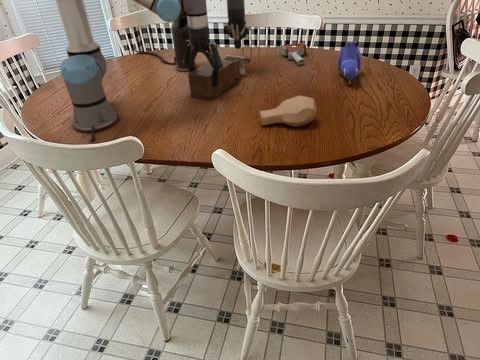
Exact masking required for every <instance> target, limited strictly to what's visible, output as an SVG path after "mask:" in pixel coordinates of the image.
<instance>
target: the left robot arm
mask: <svg viewBox="0 0 480 360" xmlns="http://www.w3.org/2000/svg"><path fill="white" fill-rule="evenodd" d="M132 1H133V2H135V3H136V4H138V5H140V6H142V7H143V8H145V9H147V10H148V11H150V12H152V13H153V14H155V15H157V16H158V18H159V19H160V20H162V21H163V22H166V23H173V21H175V20H176V19H177V18H178V17H179V15H180V11H186V12H187V20H188V26H189V27H190V28H189V35H190V38H191V40H190V39H188V40H186V41H185V42H184V43H185V54H184V65H187V66H188V68H189V71H188V73H190V72H191V71H193V70H195V69H196V68H195V66H194V61H195V62H196V58H197V56H198V53H201V54H203V56H205V57H206V59H207V61H208V62H210V64H211V66H212V68H213V71H212V76H213V86H214V87H216V86H217V85H219V82H218V78H219V70H220V69H221V68H223V65H222V62H221V59H222V58H221V56H220V53H219V50H218V42H216V41H214V42H211V41H210V28H209V18H208V7H207V0H132ZM55 2H56V6H57V9H58V12H59V15H60V18H61V19H60V20H61V22H62V26H63V28H64V32H65V35H66V39H67V42H68V45H67V47H66V48H65V51H66V53H67V58H65V59H63V61H62V60H61V63H60V65H59V69H60V75H61V77H62V79H63V82H64V84H65V87H66V90H67V93H68V96H69V99H70V101H71V104H72V108H73V114H72V117H73V118H72V119H73V125H74V128H75V129H76V131H78V132H84V133H91V137H90V138H91V139H90V142H93V141H94V139H95V138H94V136H95V134H94V133H95V132H99V131H102V130H105V129H107V128H110V127H111V126H113V125H115V124H116V122H117V121H118V116H117V113H116V111H115V110H114V108H113V107H112V105H111V103H110V102H109V101H108V99H107V96H106V92H105V89H104V87H103V86H104V85H103V78H104V76H105V74H106V72H107V61H106V58H105V56H104V55H103V53H102V50H101V45H100V44H99V43H98V42H97V41H95V39H94V36H93V32H92V28H91V25H90V24H91V23H90V21H89V17H88V13H87V10H86V6H85V3H84V0H55ZM191 45H192V46H193V49H192V53H191ZM190 53H191V56H190Z"/></svg>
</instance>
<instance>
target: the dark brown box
mask: <svg viewBox="0 0 480 360" xmlns="http://www.w3.org/2000/svg"><path fill="white" fill-rule="evenodd" d="M220 59H221V62H222V65H223V68H221V69H220V70H219V78H218V82H219V85H217V86H216V87H214V86H213V76H212V71H213V68H212V66H211V64H210V62H209V61H208V62H206V63H204V64H202V65H200V66H199V67H196V68H195V70H193V71H191V72H190V73H189V72H188V73H187V78H188V84H189V90H190V91H189V92H190V97H193V98H198V99H202V100H203V99H204V100H209V101H213V100H214V99H216V98H217V97H218V96H220V95H221V94H222V93H224V92H225V91H227V90H228V89H230V88H231V87H233V86H234V85H236V84H237V80H236V79H237V77H236V76H235V61H229V60H223V58H220Z"/></svg>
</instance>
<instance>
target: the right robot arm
mask: <svg viewBox="0 0 480 360" xmlns="http://www.w3.org/2000/svg"><path fill="white" fill-rule="evenodd" d="M245 3H246V2H245V0H226V11H227V24H226V25H224V26H223V29H224V31H225V32H226V33H227V36H228V37H229V38H230V39H232V40H233V41H234V43H233V45H234V48H235V49H237V50H240V49H241V48H242V46H243V45H242V40H243V39H246V37H247V36H248V33H249V32H250V30H251V26H248V24H247V22H246V6H245ZM189 28H190V27H189V26H188V20H187V12H186V11H180V15H179V17H178V18H177V19H176V20H175V21H173V22H172V24H171V26H170V32H171V37H172V43H173V50H174V56H173V62H169V61H167V60H164V58H163V57H162V56H161V55H159V54H158V53H155V52H150V51H142V50H141V51H140V50H137V49H136V48H134V47H133V48H132V49H131V52H135V53H137V54H146V55H152V56H155V57H157V58H159V59H160V60H161V61H162V63H165V64H167V65H170V66H172V65H173V66H175V65H176V70H177V71H179V72H189V68H188V66H187V65H184V54H185V43H184V42H185V41H186V40H188V39H190V40H191V38H190V35H189ZM192 49H193V46H192V45H191V53H192ZM191 53H190V56H191ZM194 66H195V69H197V66H196V60H195V61H194Z"/></svg>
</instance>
